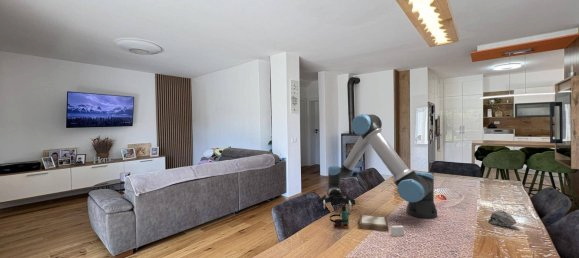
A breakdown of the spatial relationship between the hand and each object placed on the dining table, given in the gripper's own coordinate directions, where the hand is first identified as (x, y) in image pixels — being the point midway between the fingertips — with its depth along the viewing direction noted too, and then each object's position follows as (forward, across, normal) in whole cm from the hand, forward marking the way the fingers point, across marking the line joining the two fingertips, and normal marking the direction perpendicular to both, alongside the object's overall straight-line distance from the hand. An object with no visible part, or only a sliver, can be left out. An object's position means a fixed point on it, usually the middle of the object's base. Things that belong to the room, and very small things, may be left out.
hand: (337, 206), depth 131 cm
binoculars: (+7, 0, -7) cm, 10 cm away
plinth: (+5, -17, -7) cm, 19 cm away
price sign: (+16, -26, -7) cm, 31 cm away
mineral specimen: (0, -79, -7) cm, 79 cm away
